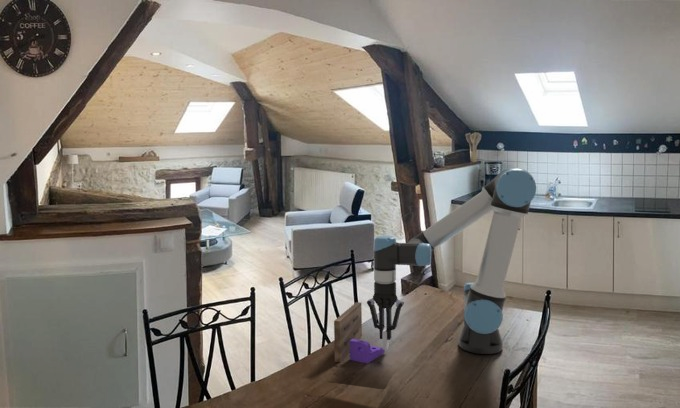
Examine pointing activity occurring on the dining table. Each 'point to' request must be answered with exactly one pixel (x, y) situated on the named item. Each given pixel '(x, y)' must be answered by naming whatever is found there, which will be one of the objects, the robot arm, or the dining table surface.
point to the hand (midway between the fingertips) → (385, 348)
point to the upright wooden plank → (347, 330)
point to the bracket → (363, 351)
